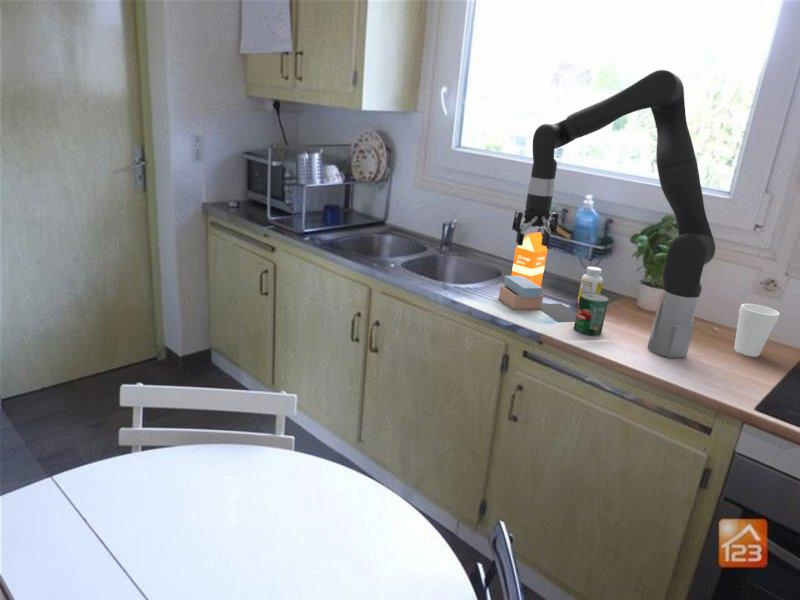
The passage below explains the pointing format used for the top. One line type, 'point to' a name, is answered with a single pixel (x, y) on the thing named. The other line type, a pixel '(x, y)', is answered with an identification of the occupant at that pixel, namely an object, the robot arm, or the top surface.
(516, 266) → the orange juice
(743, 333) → the foam cup
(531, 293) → the blue-grey rectangular block
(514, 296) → the brown open box
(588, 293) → the canned tomato
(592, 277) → the supplement bottle
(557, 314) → the mat
